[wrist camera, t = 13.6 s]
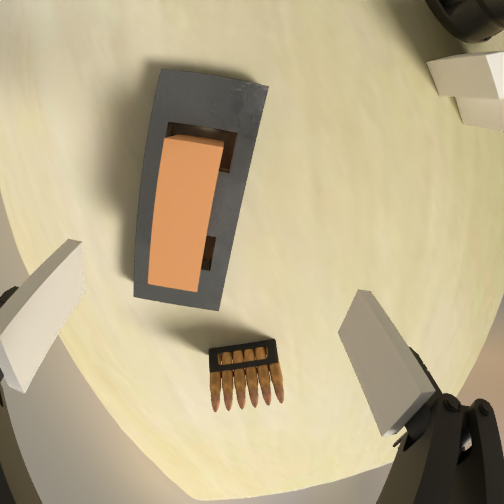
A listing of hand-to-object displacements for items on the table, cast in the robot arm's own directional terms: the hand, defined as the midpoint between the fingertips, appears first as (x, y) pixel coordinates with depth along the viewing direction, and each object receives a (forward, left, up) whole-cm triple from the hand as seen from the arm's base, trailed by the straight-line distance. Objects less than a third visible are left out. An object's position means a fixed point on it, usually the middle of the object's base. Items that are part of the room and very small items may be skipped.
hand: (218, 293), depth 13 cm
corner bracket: (-24, +31, -24) cm, 46 cm away
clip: (+2, -3, -24) cm, 24 cm away
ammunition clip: (+25, +8, -24) cm, 35 cm away
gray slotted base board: (+2, -3, -24) cm, 24 cm away
